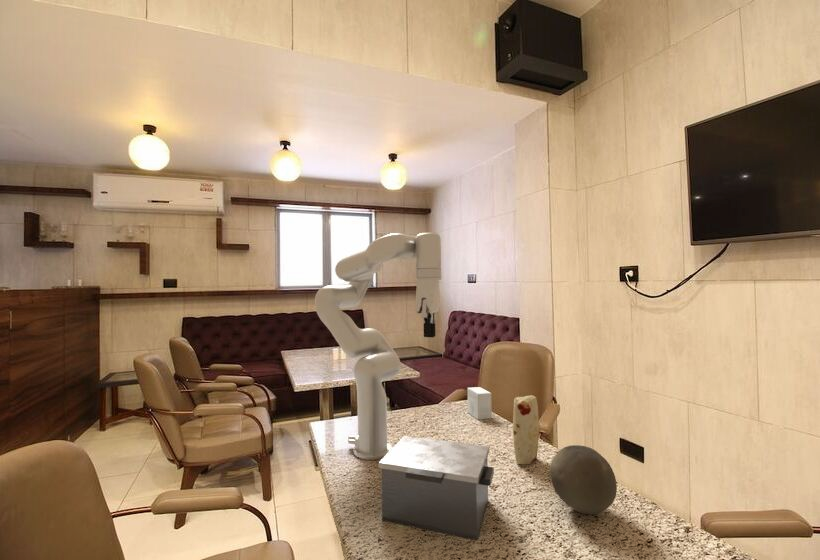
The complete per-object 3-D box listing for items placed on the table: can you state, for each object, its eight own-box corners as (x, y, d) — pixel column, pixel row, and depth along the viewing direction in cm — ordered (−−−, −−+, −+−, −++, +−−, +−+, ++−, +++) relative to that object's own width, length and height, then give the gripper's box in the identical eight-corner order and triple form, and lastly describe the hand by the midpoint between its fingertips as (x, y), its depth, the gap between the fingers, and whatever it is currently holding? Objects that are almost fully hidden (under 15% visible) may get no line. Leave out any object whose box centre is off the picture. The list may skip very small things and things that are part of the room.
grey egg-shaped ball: (562, 489, 100) (561, 432, 101) (622, 509, 91) (621, 445, 92) (542, 515, 89) (541, 450, 90) (609, 539, 80) (607, 468, 81)
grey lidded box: (373, 518, 89) (372, 466, 89) (398, 484, 104) (397, 440, 104) (487, 542, 80) (486, 484, 80) (497, 501, 95) (496, 453, 95)
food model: (526, 470, 111) (525, 401, 111) (507, 462, 116) (506, 396, 117) (545, 460, 117) (543, 395, 118) (526, 453, 122) (524, 390, 123)
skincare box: (492, 418, 155) (491, 392, 155) (478, 420, 154) (477, 393, 154) (480, 410, 165) (480, 386, 166) (467, 412, 164) (466, 387, 164)
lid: (374, 472, 86) (374, 467, 86) (404, 440, 104) (404, 435, 104) (476, 489, 78) (476, 483, 78) (489, 451, 96) (489, 446, 96)
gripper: (424, 275, 122) (425, 333, 121) (408, 274, 108) (409, 339, 107) (447, 275, 119) (448, 334, 119) (433, 274, 105) (434, 340, 105)
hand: (429, 336), depth 113 cm, fingers closed
